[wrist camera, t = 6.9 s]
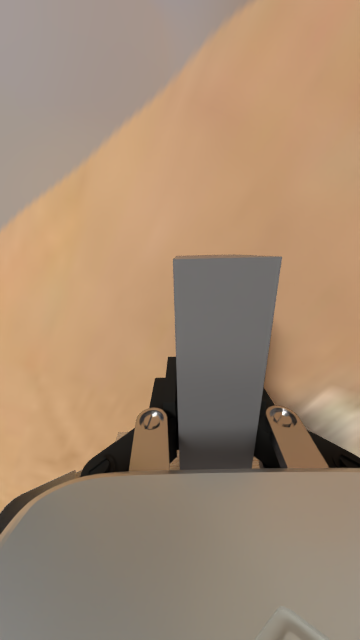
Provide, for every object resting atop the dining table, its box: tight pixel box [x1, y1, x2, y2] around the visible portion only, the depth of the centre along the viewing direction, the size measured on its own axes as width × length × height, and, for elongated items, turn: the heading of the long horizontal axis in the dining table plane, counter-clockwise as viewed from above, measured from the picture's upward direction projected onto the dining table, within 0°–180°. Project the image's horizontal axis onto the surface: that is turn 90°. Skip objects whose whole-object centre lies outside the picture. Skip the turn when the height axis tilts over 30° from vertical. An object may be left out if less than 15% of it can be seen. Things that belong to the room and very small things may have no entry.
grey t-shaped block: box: [115, 255, 282, 470], centre depth 10 cm, size 12×13×5 cm
